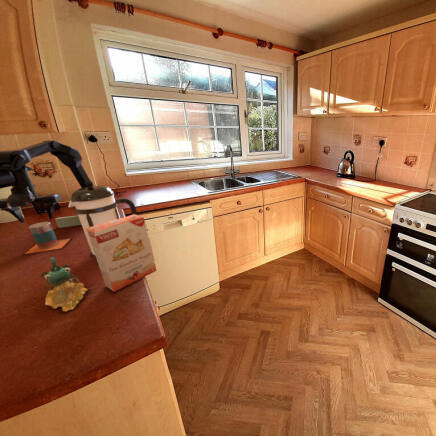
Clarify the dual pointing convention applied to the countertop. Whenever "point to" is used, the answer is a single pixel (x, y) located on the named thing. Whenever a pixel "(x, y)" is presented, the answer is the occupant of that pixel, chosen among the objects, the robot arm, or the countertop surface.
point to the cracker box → (122, 251)
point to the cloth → (36, 249)
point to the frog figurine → (63, 288)
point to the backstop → (68, 221)
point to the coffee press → (96, 206)
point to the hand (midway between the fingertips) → (37, 220)
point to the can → (43, 235)
